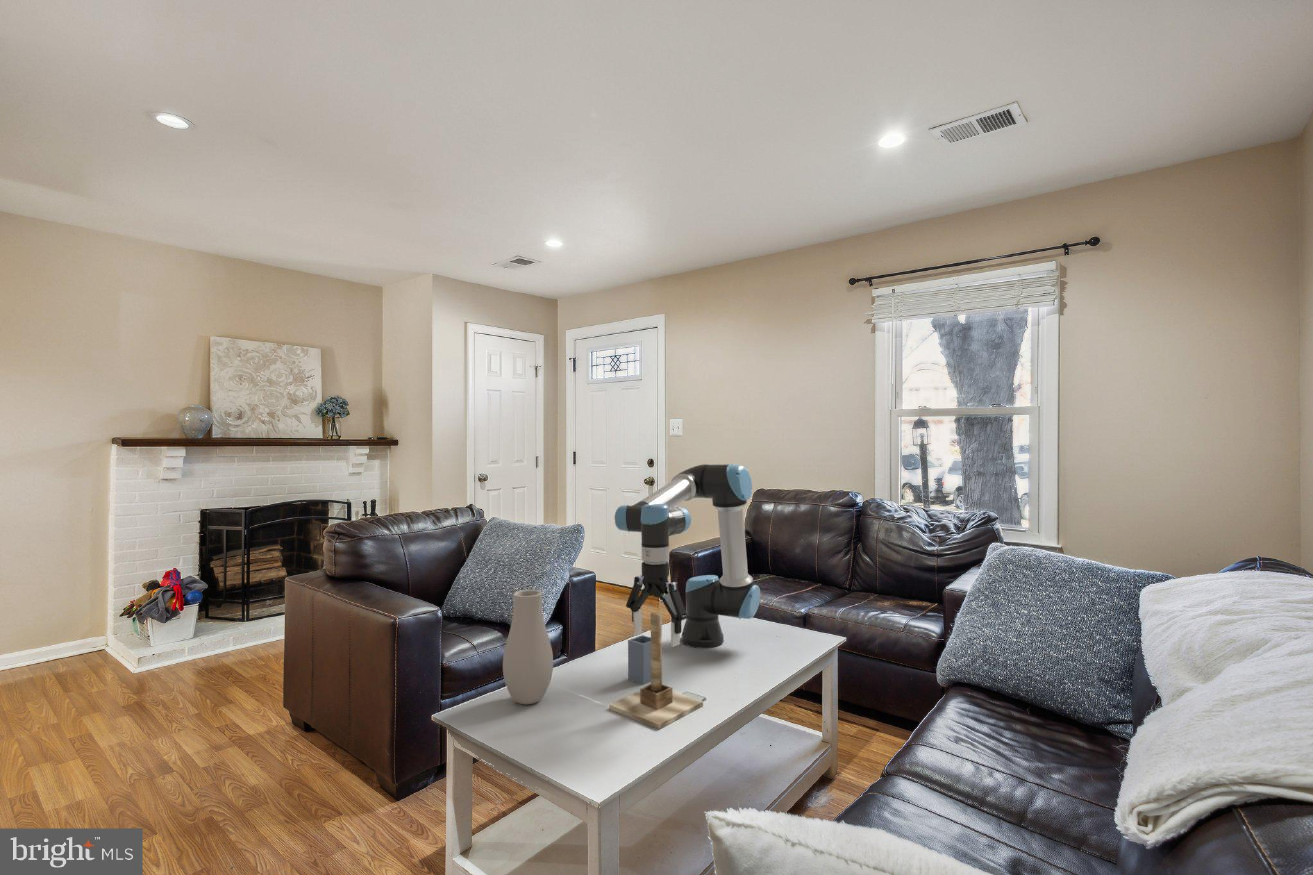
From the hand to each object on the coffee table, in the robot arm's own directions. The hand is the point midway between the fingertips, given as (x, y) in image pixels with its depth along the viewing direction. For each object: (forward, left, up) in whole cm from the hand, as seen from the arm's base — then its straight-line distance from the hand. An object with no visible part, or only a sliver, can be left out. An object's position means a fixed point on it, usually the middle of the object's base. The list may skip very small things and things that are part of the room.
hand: (656, 639), depth 165 cm
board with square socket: (0, 0, -18) cm, 18 cm away
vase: (+20, -30, -18) cm, 41 cm away
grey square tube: (-12, -16, -18) cm, 27 cm away
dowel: (0, 0, -17) cm, 17 cm away
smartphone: (-5, +4, -19) cm, 20 cm away
